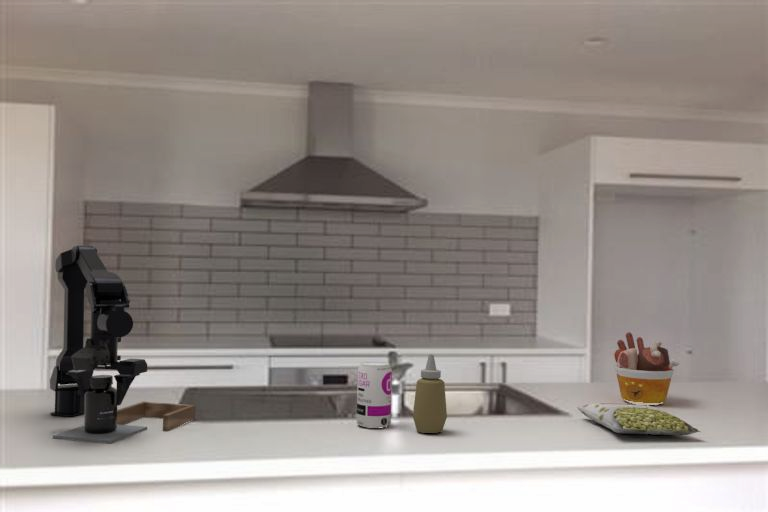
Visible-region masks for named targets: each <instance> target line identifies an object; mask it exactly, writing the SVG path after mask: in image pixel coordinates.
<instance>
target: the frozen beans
mask: <svg viewBox="0 0 768 512" xmlns="http://www.w3.org/2000/svg"><path fill="white" fill-rule="evenodd" d="M576 408H577V409H578V410H579V412H581V414H583V415H584V416H585V417H587V418H588V419H591V420H592V421H594V422H595V423H598V424H600V425H602V426H604V427H606V428H607V429H609V430H611V431H612V432H614V433H617V434H628V435H629V434H630V435H632V434H633V435H648V434H651V435H653V436H654V435H656V436H659V435H660V436H664V435H665V436H687V435H692V434H695V433H701V430H699V429H698V428H695V427H693V426H692V425H691V424H689V423H688V422H686V421H684V420H683V419H681V418H680V417H677V416H675V415H673V414H670V413H668V412H666V411H664V410H662V409H659V408H656V407H655V406H647V405H636V404H630V403H591V404H585V405H582V406H577V407H576Z"/></svg>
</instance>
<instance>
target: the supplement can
mask: <svg viewBox="0 0 768 512" xmlns="http://www.w3.org/2000/svg"><path fill="white" fill-rule="evenodd" d="M392 377H393V369H392V367H391V366H390V363H389V362H386V361H385V362H384V361H363V362H360V364H359V366H358V368H357V384H356V385H357V386H356V387H357V388H356V391H357V393H356V424H357V425H358V426H359V425H360V426H363V427H371V428H379V427H386V426H388V427H389V426H390V425H391V422H392V421H391V420H392V386H393V385H392V381H393V378H392ZM360 426H359V427H360ZM386 428H387V427H386Z"/></svg>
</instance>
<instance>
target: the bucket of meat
mask: <svg viewBox="0 0 768 512" xmlns="http://www.w3.org/2000/svg"><path fill="white" fill-rule="evenodd" d="M625 339H626V343H627V345H626V343H625V341H624V340H622V339H619V340H617V341H616V342H617V343H616V344H617V346H618V349H617V350H615V352H614V354H613V355H614V360H615V362H616V365H614V369H615V372H616V378H617V383H618V387H619V393H620V397H621V398H622V400H623V399H625V400H628V401H633V402H643V403H661V402H664V403H665V402H666V400H667V396H668V393H669V389H670V386H671V381H672V377H673V375H674V369H673V368H674V367H678V366H679V365H680V362H679V361H678V360H676V359H674V358H672V359H670V355H669V350H668V349H667V348H665V347H662V346H661V345H662V342H661V341H655V342H654V343H653V344H652V343H651V345H649V347H645V344H644V340H643V338H642V337H641V336H640V337H637V339H636V344H637V345H636V344H635V340H634V336H633V334H632V333H631V332H626V334H625ZM635 345H636V346H637V348H638V349H637V348H636V346H635ZM627 347H628V348H627Z"/></svg>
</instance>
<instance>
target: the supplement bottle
mask: <svg viewBox="0 0 768 512" xmlns="http://www.w3.org/2000/svg"><path fill="white" fill-rule="evenodd" d="M113 377H114V375H110V374H98V375H96V374H95V375H92V376H91V377H90V383H89V385H90V388H89V389H88V390H87V391H86V392H85V400H84V413H83V414H84V416H83V418H84V419H83V423H84V425H83V426H84V430H85V431H86V432H87V433H107V432H112V431H114V430H116V428H117V410H118V405H117V404H116V389H117V388H115V387H113V385H114V381H113Z"/></svg>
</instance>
